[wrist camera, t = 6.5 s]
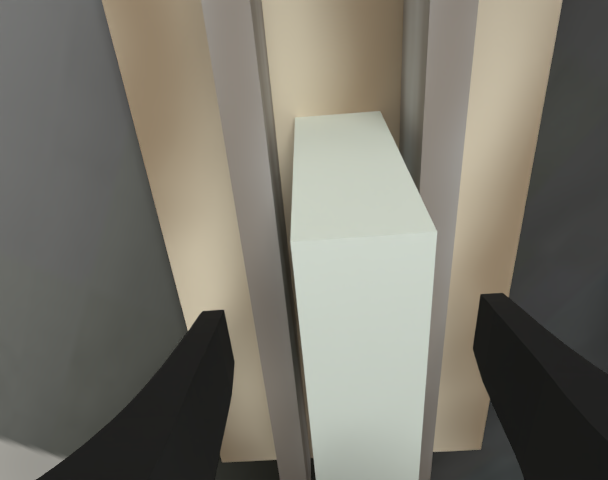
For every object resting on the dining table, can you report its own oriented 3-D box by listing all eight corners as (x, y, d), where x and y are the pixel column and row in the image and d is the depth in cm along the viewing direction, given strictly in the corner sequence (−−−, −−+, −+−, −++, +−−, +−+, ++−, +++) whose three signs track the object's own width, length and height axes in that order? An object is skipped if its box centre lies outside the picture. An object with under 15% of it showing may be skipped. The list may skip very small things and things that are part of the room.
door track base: (571, -155, 12) (680, -195, 8) (474, 430, 23) (503, 514, 20) (87, -111, 12) (5, -132, 9) (225, 443, 24) (212, 527, 20)
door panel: (379, 110, 14) (437, 231, 8) (379, 359, 19) (413, 543, 13) (294, 117, 14) (289, 241, 8) (316, 362, 20) (323, 547, 14)
